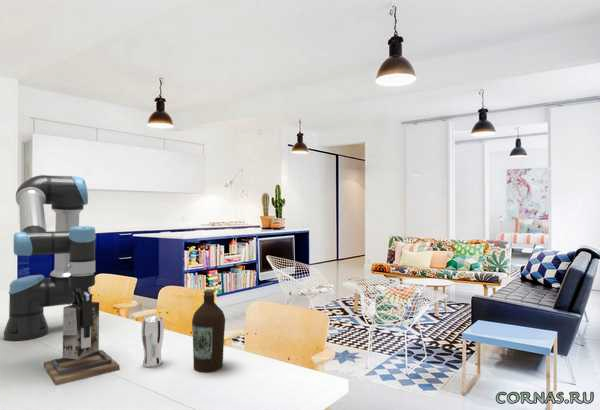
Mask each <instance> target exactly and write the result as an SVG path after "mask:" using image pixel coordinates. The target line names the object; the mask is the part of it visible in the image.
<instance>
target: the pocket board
mask: <svg viewBox="0 0 600 410" xmlns="http://www.w3.org/2000/svg"><path fill="white" fill-rule="evenodd" d="M43 367H44V369H45V371H46V373H47V374H48V375H49V377H50V378H51V380H52V382H53V383H54V385H55V386H58V385H62V384H66V383H71V382H74V381H80V380H83V379H87V378H91V377H97V376H100V375H103V374H108V373H112V372H115V371H116V372H117V371H119V370H120V364H119V363H118V362H117V361H116V360H114V359H113V358H112V356H111V355H109V354H108V353H107V352H105V351H104V350H103V349H99V350H98V351H96V352H94V353H92V354H89V355H87V356H85V357H83V358H81V359H78V360H76V359H70V358H63V357H59V358H55V359H50V360H47V361H43Z"/></svg>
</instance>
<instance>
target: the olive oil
mask: <svg viewBox="0 0 600 410" xmlns="http://www.w3.org/2000/svg"><path fill="white" fill-rule="evenodd" d="M203 294H204V295H203V303H202V304H201V305H200V306H199V307H198V309H197V310H196V311H195V312H194V314H193V316H192V321H191V328H192V348H193V349H192V351H193V352H192V353H193V357H192V358H193V369H194V370H195V371H197V372H199V373H212V372H216V371H219V370H220V369H222V368H223V366H224V348H225V347H224V346H225V344H224V343H225V330H226V328H225V327H226V316H225V313H224V311H223V310H222V309H221V307H219V306H218V305H217V304H216V303H215V290H213V289H207V290H204V291H203Z"/></svg>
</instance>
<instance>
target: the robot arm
mask: <svg viewBox="0 0 600 410" xmlns="http://www.w3.org/2000/svg"><path fill="white" fill-rule="evenodd" d="M15 202H16V204H17V205H18V208H19V232H15V233H14V234H13V254H14V255H15V256H26V257H29V256H42V255H54V269H53V270H52V271H51V272H50V274H49V277H46V278H45V275H43V274H35V275H34V274H33V275H28V276H23V277H19V278H17V279H14V280H12V281H11V282H10V284H9V291H8V294H9V300H8V301H9V305H8V306H9V307H8V308H9V309H8V314H9V315H8V320H7V322H6V325H5V329H3V330H4V331H3V339H4V340H6V341H25V340H26V341H27V340H33V339H37V338H40V337H43V336H46V335H47V334H48V333H49V325H48V322H47V320H46V317H45V314H44V313H45V311H44V308H48V307H56V306H66V305H67V306H70V305H73V304H78V306H79V307H83V311H82V326H80V328H81V349H82V348H87V347H91V326H93V311H92V302H93V294H92V293H91V292H90V290H89V288H90V287H91V288H92V287H94V286H96V285H95V284H96V274H95V273H96V238H97V235H96V228H95V227H94V226H89V225H88V226H87V225H86V226H84V225H83V226H80V213H81V212H82V211H83V210H84V206H86V205H88V203H89V195H88V187H87V183H86V181H85V179H84V178H83V177H80V176H72V175H48V174H47V175H46V174H41V175H36V176H33V177H30V178H28V179H26V180H25V181H23V182H22V183H21V184H20V185H19V187H18V188H17V190H16V193H15ZM44 205H51V210H52V211H53V212H54V213H55V223H54V224H55V230H54V231H53V230H52V231H47V224H46V215H45V208H44V207H45V206H44ZM87 322H88V323H87Z"/></svg>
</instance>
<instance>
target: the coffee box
mask: <svg viewBox="0 0 600 410" xmlns="http://www.w3.org/2000/svg"><path fill="white" fill-rule="evenodd" d="M82 311H83V307H79V306H78V304H73V305H72V304H70V305H67V306H66V305H65V306H63V309H62V313H63V315H62V318H63V319H62V320H63V321H62V355H61V356H62V357H61V358H70V359H76V360H78V359H81V358H83V357H85V356H87V355H89V354H92V353H94V352H96V351H98V350H100V348H99V347H100V302H97V301H92V311H93V326H91V347H87V348H82V349H81V328H80V326H82ZM87 323H88V322H87Z"/></svg>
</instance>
